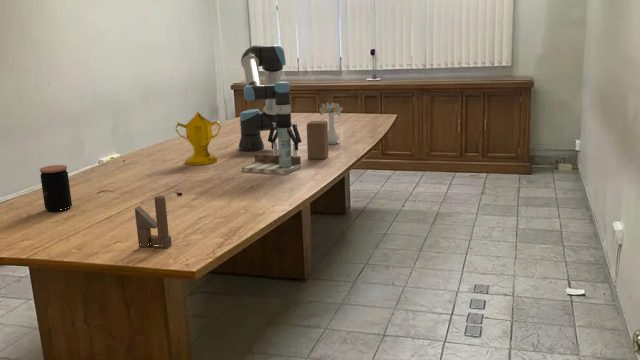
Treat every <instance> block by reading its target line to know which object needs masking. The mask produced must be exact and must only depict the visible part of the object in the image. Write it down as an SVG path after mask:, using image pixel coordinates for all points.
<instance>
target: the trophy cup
mask: <svg viewBox="0 0 640 360" xmlns="http://www.w3.org/2000/svg"><path fill="white" fill-rule="evenodd" d="M215 125H216V126H218V130H217V132H216V134H213V133H214V131H213V126H215ZM178 127H181V128H184V129H185V133H186V134H185V136H186V137H185V136H184V135H182V134H180V131H179V130H178V129H177V128H178ZM221 127H222V126H221V124H220V123H218V121H217V120H214V121H212V122H211V121H210V120H209V119H207V118H206V117H204V116H203V115H202V114H201V113H200V112H199V111H196V113H195V115H194V116H193V117H192V118H191V119H190V120H189V121H188V122H187V123H186V124H183V123H181V122H177V124H176V126H175V131H176V133H177V134H178V135H179V136H180V137H181V138H183V139H184V140H187V141H188V143H189V144H190V145H191V146H192V147H193V153H192V155H190V156H189V157H187V158H186V159H184V163H185V165H187V166H206V165H211V164H214V163H218V161H219V160H218V159H219V158H218V156H216V155H213V154H211V153H210V152H209V145H210V143H211V141H212V139H214V138H217V136H218V134H219V132H220V130H221Z"/></svg>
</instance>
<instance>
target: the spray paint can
mask: <svg viewBox="0 0 640 360" xmlns="http://www.w3.org/2000/svg"><path fill="white" fill-rule="evenodd" d="M287 129H288V128H277V130H278V137H277V149H278V155H279V165H280V167H291V165H292V161H291V156H292V143H291V142H292V139H291V137H290V136H289V134H288V133H287ZM288 130H290V128H289V129H288Z"/></svg>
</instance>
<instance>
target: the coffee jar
mask: <svg viewBox="0 0 640 360" xmlns="http://www.w3.org/2000/svg"><path fill="white" fill-rule="evenodd" d="M67 169H68V167H67V165H65V164H53V165H47V166H43V167H40V168H39V172H40V174H39V175H40V182H41V183H40V184H41V189H42V191H41V192H42V196H43V198H42V199H43V202H44V204H43V205H44V209H45V210H46V209H47V210H46V211H47V212H48V213H61V212H65V211H69V210H70V209H71V208H72V205H73V201H72V193H71V186H70V179H69V172H68V171H67ZM70 206H71V207H70ZM68 207H69V208H68ZM65 208H66V209H65ZM60 209H62V210H60Z"/></svg>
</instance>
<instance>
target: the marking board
mask: <svg viewBox="0 0 640 360" xmlns="http://www.w3.org/2000/svg"><path fill="white" fill-rule="evenodd" d="M301 158H302V157H301V156H300V155H297V156H296V157H293V155H291V161H292V165H291V167H280V165H279V154H277V155H276V156H274V155H273V154H271V153H269V154H268V153H255V154H254V162H251V163H249V164H246V165H244V166H242V167H241V172H245V173H246V172H247V173H260V174H261V173H263V174H275V175H289V174H291V173H293V172H295V171H297V170H299V169H301V167H302V162H301V161H302V160H301Z"/></svg>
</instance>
